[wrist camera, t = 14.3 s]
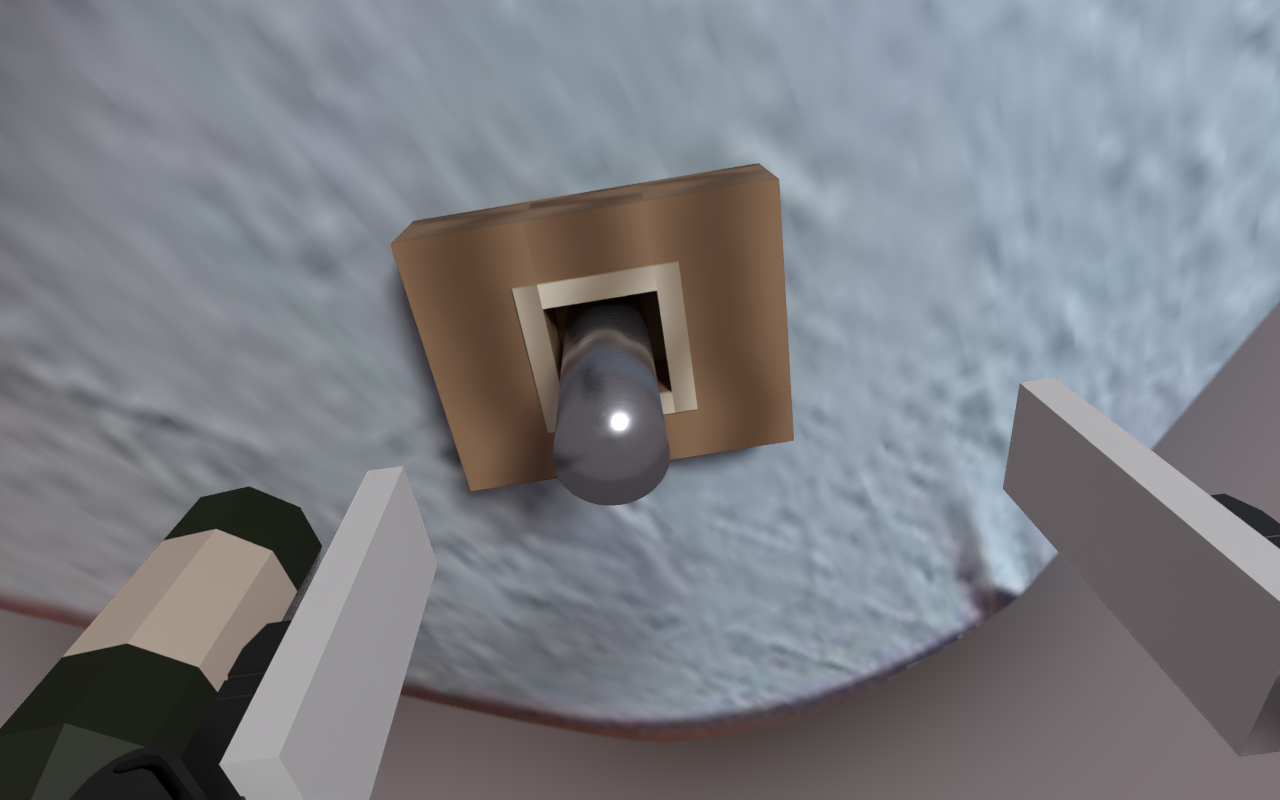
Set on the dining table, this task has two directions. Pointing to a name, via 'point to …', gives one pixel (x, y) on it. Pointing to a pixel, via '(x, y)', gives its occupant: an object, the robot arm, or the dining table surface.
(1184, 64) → the dining table surface
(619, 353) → the peg
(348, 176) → the dining table surface
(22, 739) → the wine bottle
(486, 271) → the socket
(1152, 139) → the dining table surface
